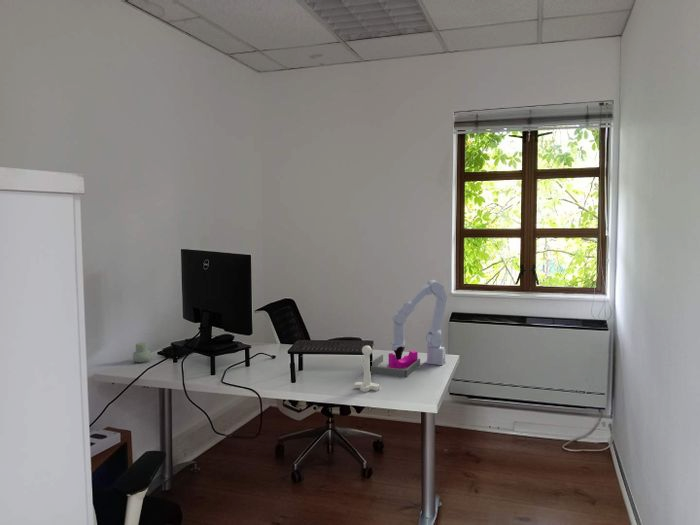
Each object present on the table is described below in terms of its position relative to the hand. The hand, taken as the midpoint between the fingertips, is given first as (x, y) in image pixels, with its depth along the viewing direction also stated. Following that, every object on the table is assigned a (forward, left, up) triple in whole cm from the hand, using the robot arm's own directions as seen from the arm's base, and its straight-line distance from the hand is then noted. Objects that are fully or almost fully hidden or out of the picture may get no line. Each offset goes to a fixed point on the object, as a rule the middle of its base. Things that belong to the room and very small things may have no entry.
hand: (398, 360), depth 283 cm
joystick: (0, +45, -2) cm, 45 cm away
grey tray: (0, +9, -2) cm, 9 cm away
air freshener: (+133, +48, -2) cm, 141 cm away
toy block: (-3, +3, -2) cm, 5 cm away
